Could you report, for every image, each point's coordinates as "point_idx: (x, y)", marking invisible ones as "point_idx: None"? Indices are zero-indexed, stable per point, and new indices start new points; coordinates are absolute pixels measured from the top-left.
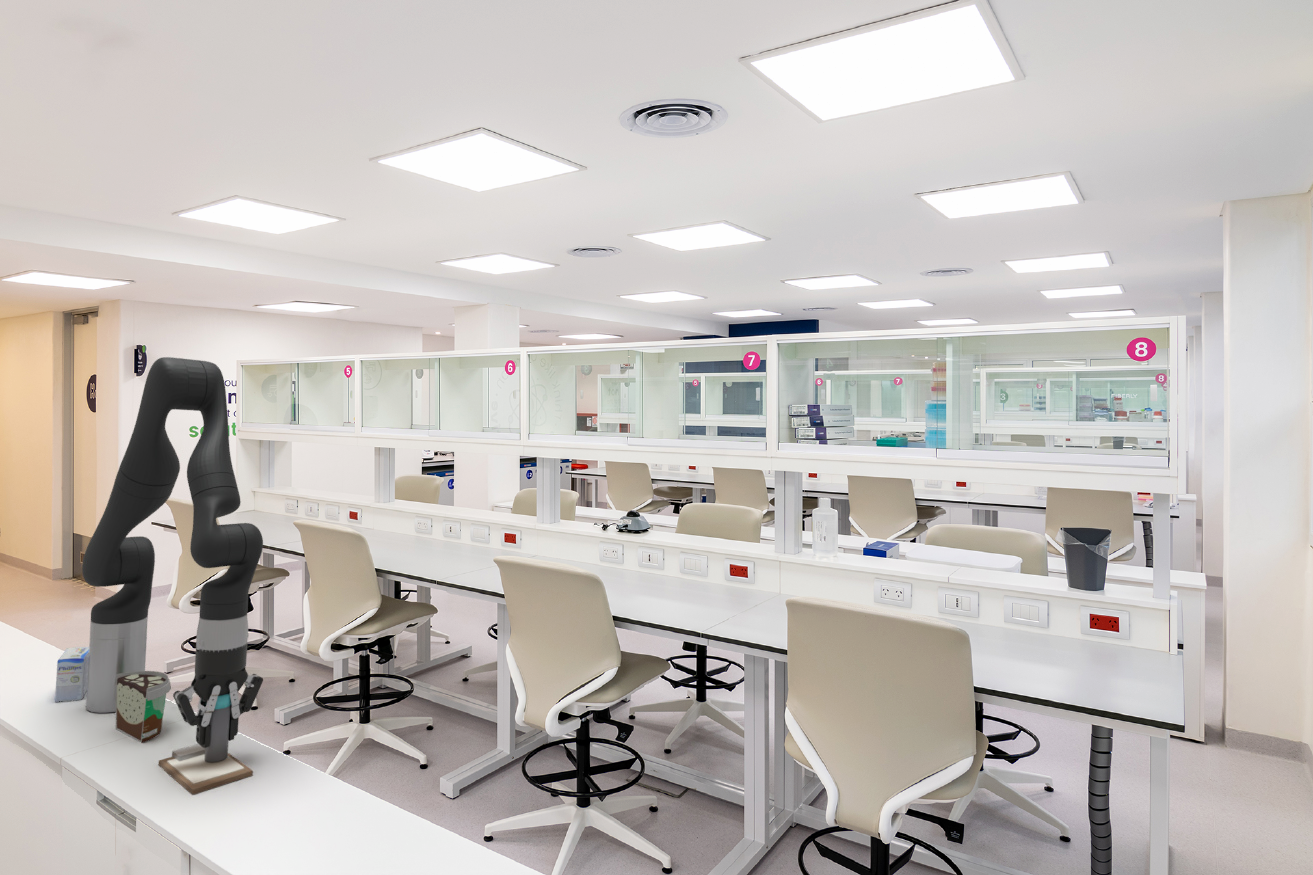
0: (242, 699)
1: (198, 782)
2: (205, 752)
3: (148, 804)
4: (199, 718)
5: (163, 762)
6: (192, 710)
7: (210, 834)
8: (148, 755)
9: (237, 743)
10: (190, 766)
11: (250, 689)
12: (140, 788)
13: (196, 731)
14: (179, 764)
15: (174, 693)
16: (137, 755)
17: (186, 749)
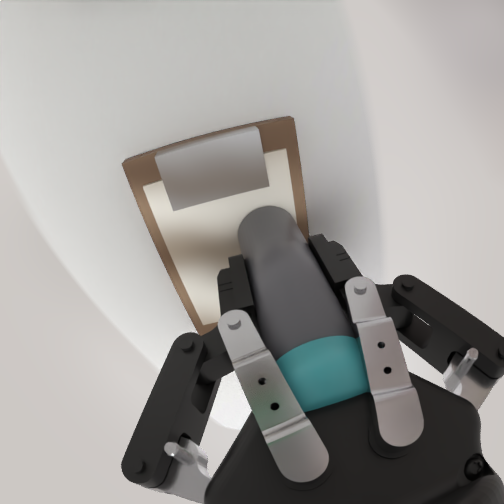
0: (417, 312)
1: (211, 322)
2: (241, 252)
3: (130, 330)
4: (229, 371)
5: (134, 183)
6: (204, 422)
7: (216, 402)
8: (101, 75)
9: (347, 113)
10: (200, 249)
11: (445, 363)
12: (102, 270)
13: (219, 298)
14: (174, 226)
15: (128, 477)
16: (75, 65)
17: (196, 166)
